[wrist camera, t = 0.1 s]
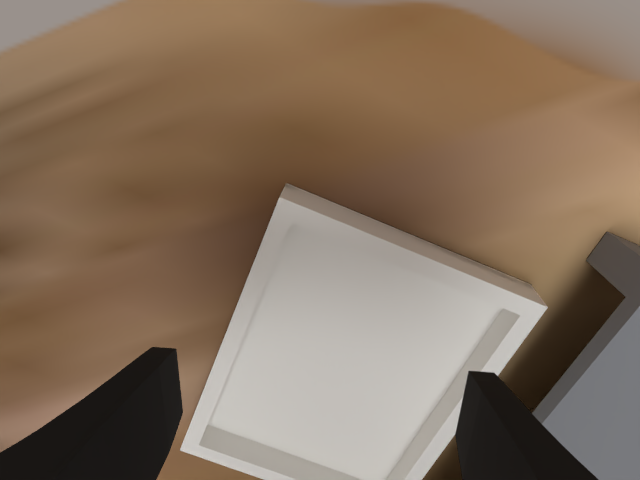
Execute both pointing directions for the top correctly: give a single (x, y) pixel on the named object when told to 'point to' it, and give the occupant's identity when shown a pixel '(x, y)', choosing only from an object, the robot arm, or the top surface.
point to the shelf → (604, 378)
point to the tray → (352, 349)
